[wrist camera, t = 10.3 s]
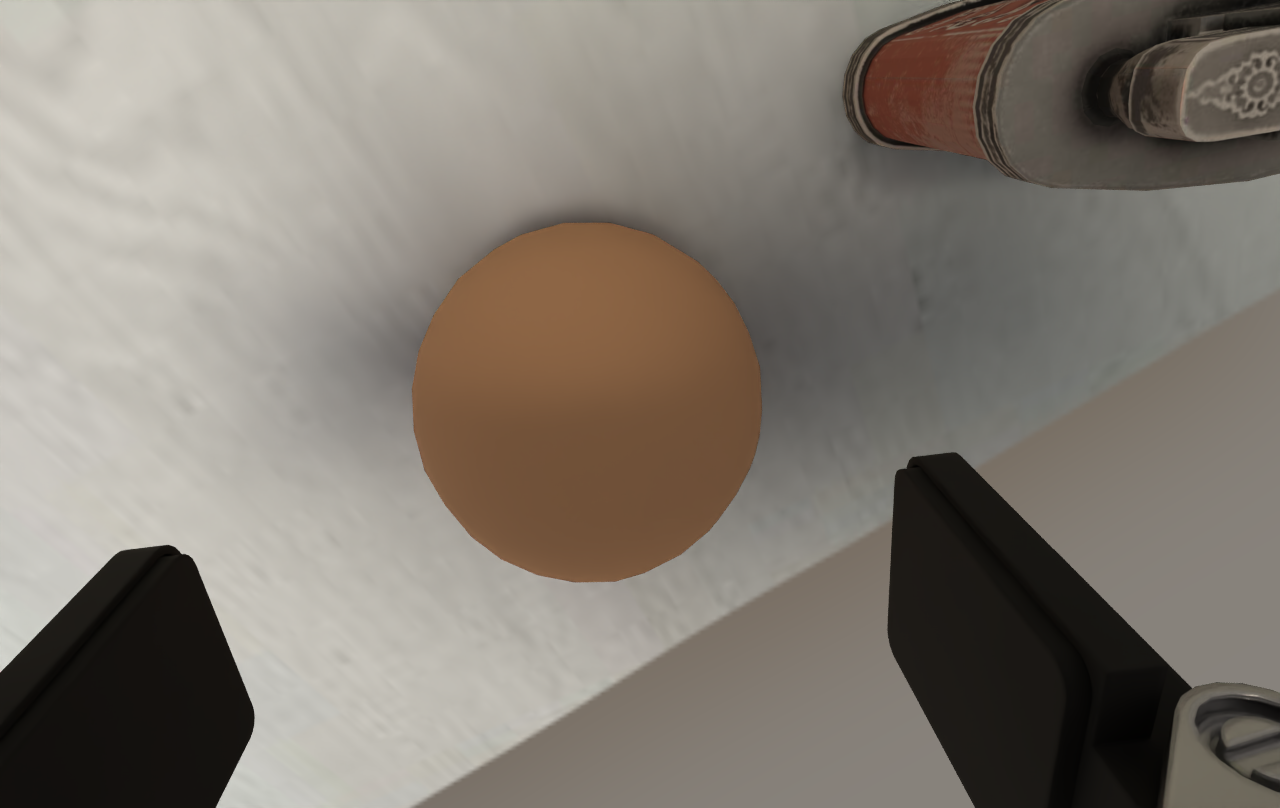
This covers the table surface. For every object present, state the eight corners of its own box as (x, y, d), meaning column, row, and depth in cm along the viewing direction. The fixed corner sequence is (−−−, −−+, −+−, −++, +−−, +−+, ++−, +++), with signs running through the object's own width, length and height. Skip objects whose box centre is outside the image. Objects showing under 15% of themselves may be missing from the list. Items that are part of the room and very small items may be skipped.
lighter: (845, 169, 19) (1088, 259, 9) (839, 17, 17) (1115, -47, 8) (1170, 114, 19) (1731, 152, 9) (1189, -43, 17) (1869, -176, 8)
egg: (571, 130, 18) (555, 173, 10) (784, 324, 20) (906, 480, 12) (393, 353, 20) (264, 533, 12) (605, 507, 22) (613, 743, 14)
